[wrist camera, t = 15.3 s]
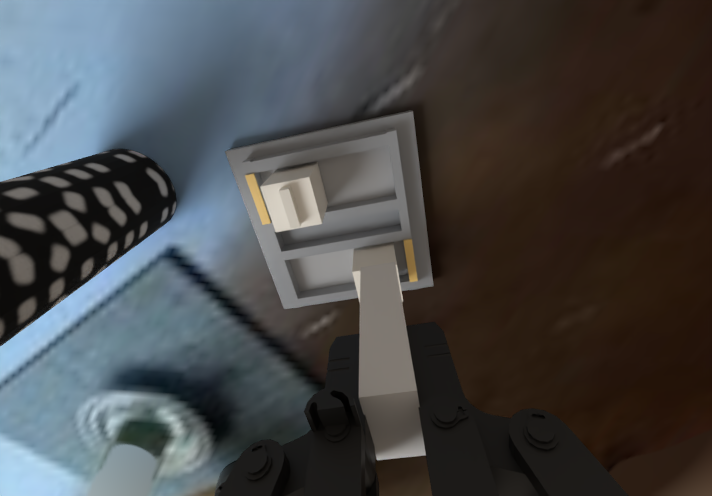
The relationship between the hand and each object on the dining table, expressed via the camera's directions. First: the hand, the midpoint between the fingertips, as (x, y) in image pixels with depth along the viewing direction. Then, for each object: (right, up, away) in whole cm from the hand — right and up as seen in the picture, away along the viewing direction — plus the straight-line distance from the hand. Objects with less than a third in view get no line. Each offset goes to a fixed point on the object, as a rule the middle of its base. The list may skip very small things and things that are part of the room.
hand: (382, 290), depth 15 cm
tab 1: (-6, +8, +16) cm, 19 cm away
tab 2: (+1, +1, +20) cm, 20 cm away
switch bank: (-3, +5, +19) cm, 20 cm away
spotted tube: (-23, +8, +19) cm, 31 cm away
